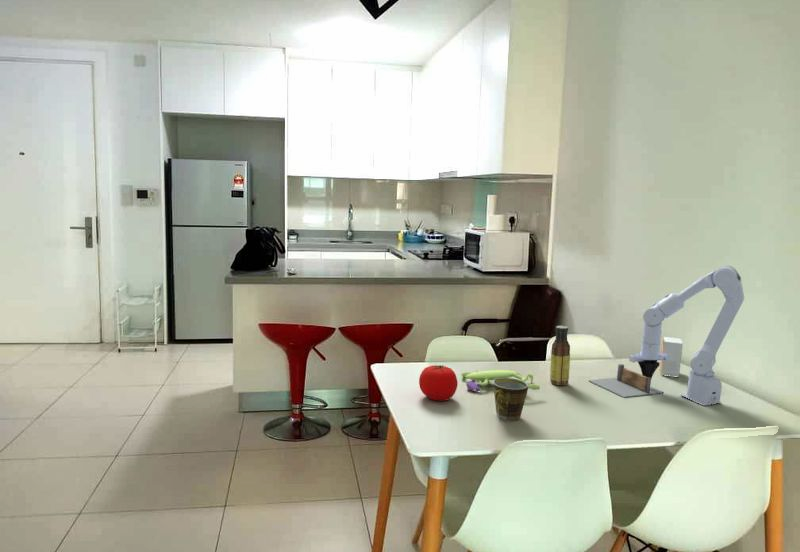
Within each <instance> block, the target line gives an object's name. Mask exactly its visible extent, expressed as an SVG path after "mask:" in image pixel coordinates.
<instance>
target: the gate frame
mask: <svg viewBox="0 0 800 552" xmlns="http://www.w3.org/2000/svg"><path fill="white" fill-rule="evenodd" d="M623 368H625V365H624V364H623V363H618V364H617V372H616V373H617V375H616V377H608V378H599V379H598V378H597V379H588V382H589V383H591V384H594V385H595V386H598V387H600V388H602V389H604V390H606V391H608V392H611V393H612V394H614V395H616V396H618V397H620V398H623V399H626V398H634V396H635V397H641V395H643V396H648V395H647V394H652V395H655V394H654V393H660V394H662V393H661V392H663V390H660V389H658V388H655V387H653V386H651V382H652V379H651V378H649V377H648V382H647V391H644V390H641V389H639V388H637V387H635V386H632V385H630V384H628V383H626V382H623V381H621V379H622V369H623Z"/></svg>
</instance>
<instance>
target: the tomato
mask: <svg viewBox="0 0 800 552" xmlns="http://www.w3.org/2000/svg"><path fill="white" fill-rule="evenodd" d="M418 384H419V389H420V391H421V393H422V394H424V396H426V397H427V398H429V399H430V400H433V401H438V402H443V401H447V400H450V399H451V398H452V397H453V396H454V395H456V392H457V389H458V378H457V374H456V373H455V371H454V370H453V368H451V367H449V366H445V365H437V364H435V365H429V366H427V367H424V368H423V370H422V371H421V373H420V375H419V380H418Z"/></svg>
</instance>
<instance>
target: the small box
mask: <svg viewBox="0 0 800 552" xmlns="http://www.w3.org/2000/svg"><path fill="white" fill-rule="evenodd" d="M683 345H684V343H683V340H682V338H677V337H669V336H663V337H662V345H661V353H660V354H667V355H669V358H668V360H667V361H666V360H660V361H659V363H660V365H659V374H660V373H661V374H660V376H661V375H668V376H669V375H670V376H679V377H680V374H681V373H680V372H681V363H682V355H683V354H682V353H683Z"/></svg>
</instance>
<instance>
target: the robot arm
mask: <svg viewBox="0 0 800 552" xmlns="http://www.w3.org/2000/svg"><path fill="white" fill-rule="evenodd" d="M715 288H718V289H719V291H721V293H722V295H723V297H724V299H725V302H724V303H723V305H722V307H721V309H720V311H719V313H718V315H717V317H716V319H715V320H714V323H713V325H712V327H711V329H710V331H709V332H708V335H707V336H706V339H705V341H704V343H703V344H702V346H701V348H700V350H698V351H697V352H696V353H695V355H694V357H692V359H691V360H690V364H689V365H690V369H689V372H688V373H689V374H688V382H687V389H686V393H681V394H680V395H682V396H683V395H684V397H686V398H685V399H687V398H688V399H687V400H689V399H690V401H691V400H692V401H691V402H694V403H696V404H698V403H699V405H701V406H704V407H705V406H711V404H712V405H717V404H716V403H720V404H722V401H721V396H722V395H721V393H722V387H723V386H722V381H721V379H719V378H718V377H716V375H715V371H714V369H713V368H714V366H715V364H716V362H717V361H716V356H717V353H718V351H719V349H720V348H721V345H722V343H723V341H724V340H725V338H726V336H727V333H728V331H729V329H730V327H731V326H732V323H733V322H734V320H735V318H736V316H737V314H738V313H739V310H740V309H741V307H742V304H743V303H744V300H745V294H744V288H743V283H742V277H741V275H740V274H739V272H738V270H737V269H736V268H735V267H733V266H731V265H723V266H721V267H719V268H718V269H717V270H715V269H714V270H713V271H711V272H709V273H707V274H705V275H703V276H701V277H700V278H698V280H696V281H694V282H693V283H692V284H690V285H688V287H685V289H683V290H682V291H681V292H679V293H675V292H674V293H670V294H669V293H667V294H665V295H664V298H662V299H661V300H660V301H658V302H654V303H653V304H652V307H649V308H647V309H646V310H645V312H643V315H642V319H643V321H644V322H643V328H642V335H641V337H642V338H641V347H640V352H639V353H635V354H631V355H629V360H628V361H629V362H631V363H636V362H637V363H638V366H639V368H640V370H641V375H643V376H646V377H649V378H651V380H652V378H653V376H654V374H655V372H656V370H657V369H658V368H660V361H661V360H666V361H667V360H668V358H669V355H667V354H661V353H660V348H661V338H662V325H663V323H662V322H663V321H665V319H667V318H669V317H671V316H672V315H674V314H675V313H677V312H678V311H680V310H682V309H683V308H684V306H685V302H686V301H687V300H689V299H691V298H693V297H694V296H695V295H698V294H699V293H700V292H702V291H704V290H705V289H715ZM682 396H681V397H682ZM684 397H683V398H684Z"/></svg>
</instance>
